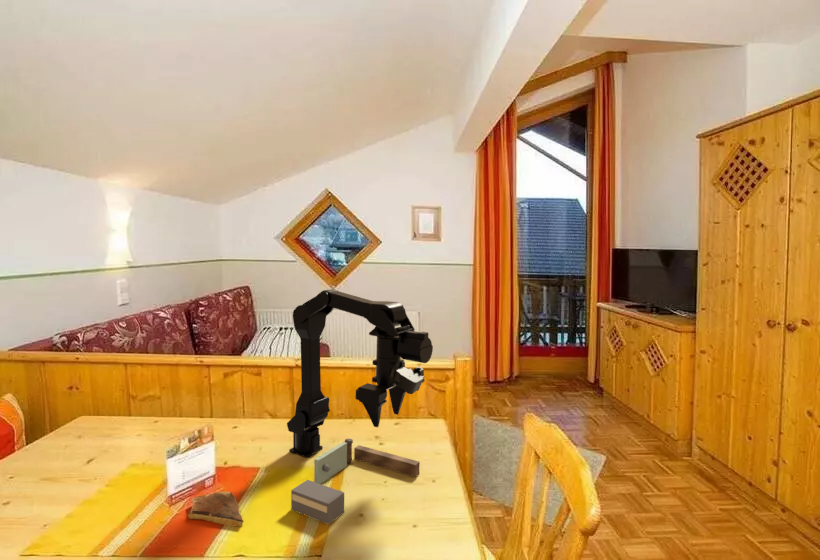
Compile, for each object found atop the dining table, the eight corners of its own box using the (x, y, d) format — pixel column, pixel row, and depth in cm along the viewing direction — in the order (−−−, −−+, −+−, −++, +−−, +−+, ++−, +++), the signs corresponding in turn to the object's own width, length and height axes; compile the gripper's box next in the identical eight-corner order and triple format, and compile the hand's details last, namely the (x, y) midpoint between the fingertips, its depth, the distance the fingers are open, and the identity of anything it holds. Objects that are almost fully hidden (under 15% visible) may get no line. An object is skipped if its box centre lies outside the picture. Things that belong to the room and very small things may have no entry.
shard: (243, 530, 92) (243, 519, 92) (191, 544, 87) (191, 532, 87) (233, 497, 103) (232, 487, 103) (186, 508, 99) (186, 498, 98)
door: (343, 464, 118) (343, 441, 118) (350, 467, 117) (351, 444, 116) (314, 484, 108) (314, 459, 108) (322, 486, 107) (322, 461, 107)
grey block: (290, 511, 98) (290, 490, 98) (307, 499, 102) (307, 479, 102) (328, 526, 93) (328, 504, 93) (344, 513, 98) (344, 492, 97)
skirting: (354, 459, 121) (354, 447, 121) (358, 456, 123) (358, 445, 123) (415, 477, 113) (415, 465, 112) (419, 473, 114) (419, 461, 114)
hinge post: (342, 463, 119) (343, 440, 118) (347, 460, 120) (347, 437, 120) (349, 465, 118) (349, 442, 117) (354, 462, 120) (354, 439, 119)
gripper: (398, 370, 98) (396, 442, 99) (436, 353, 114) (433, 414, 116) (354, 362, 103) (353, 431, 105) (396, 346, 120) (394, 405, 121)
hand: (386, 420), depth 111 cm, fingers open, 9 cm apart
